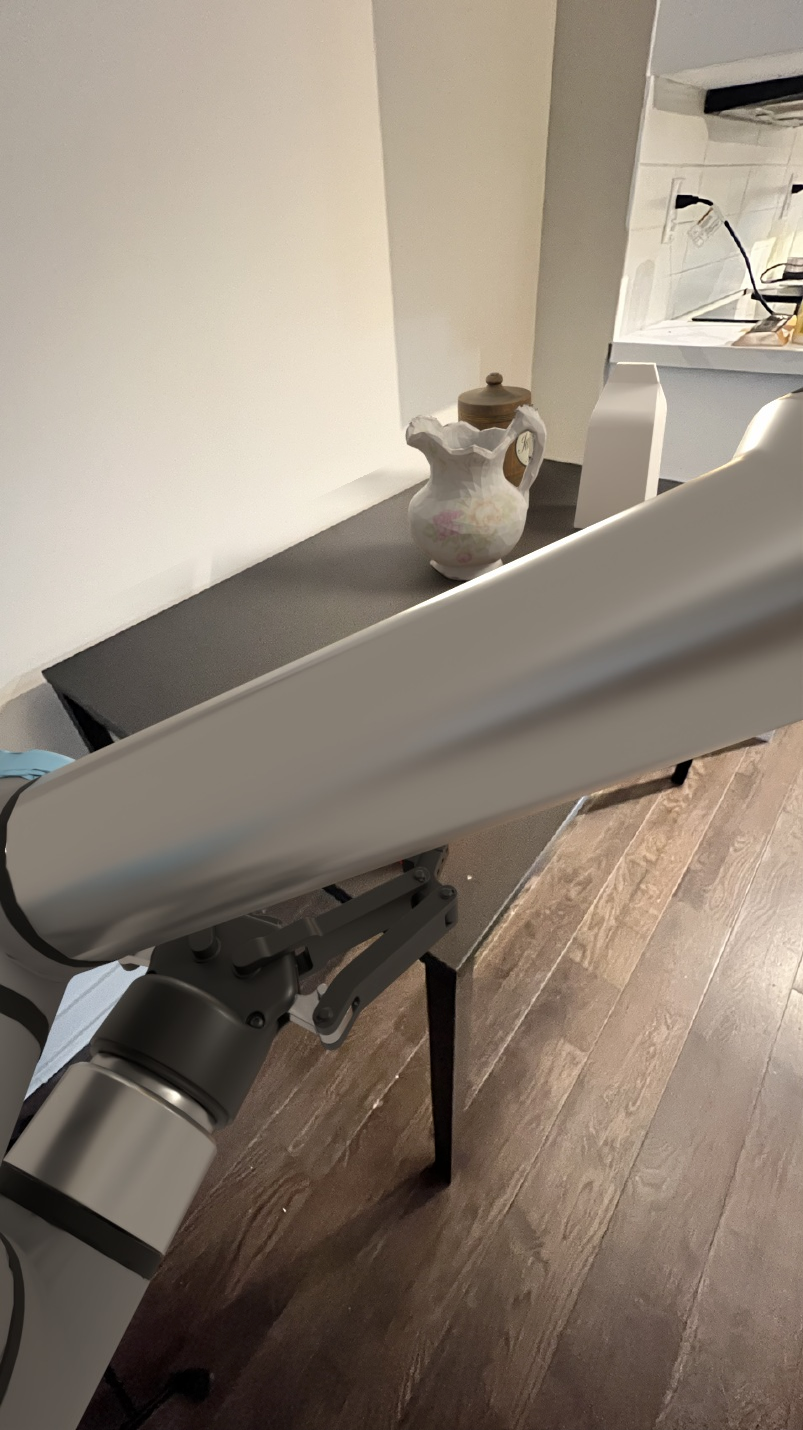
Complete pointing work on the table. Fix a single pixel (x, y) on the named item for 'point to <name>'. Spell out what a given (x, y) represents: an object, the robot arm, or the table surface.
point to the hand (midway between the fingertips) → (350, 773)
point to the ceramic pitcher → (471, 492)
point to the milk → (622, 444)
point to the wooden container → (498, 419)
